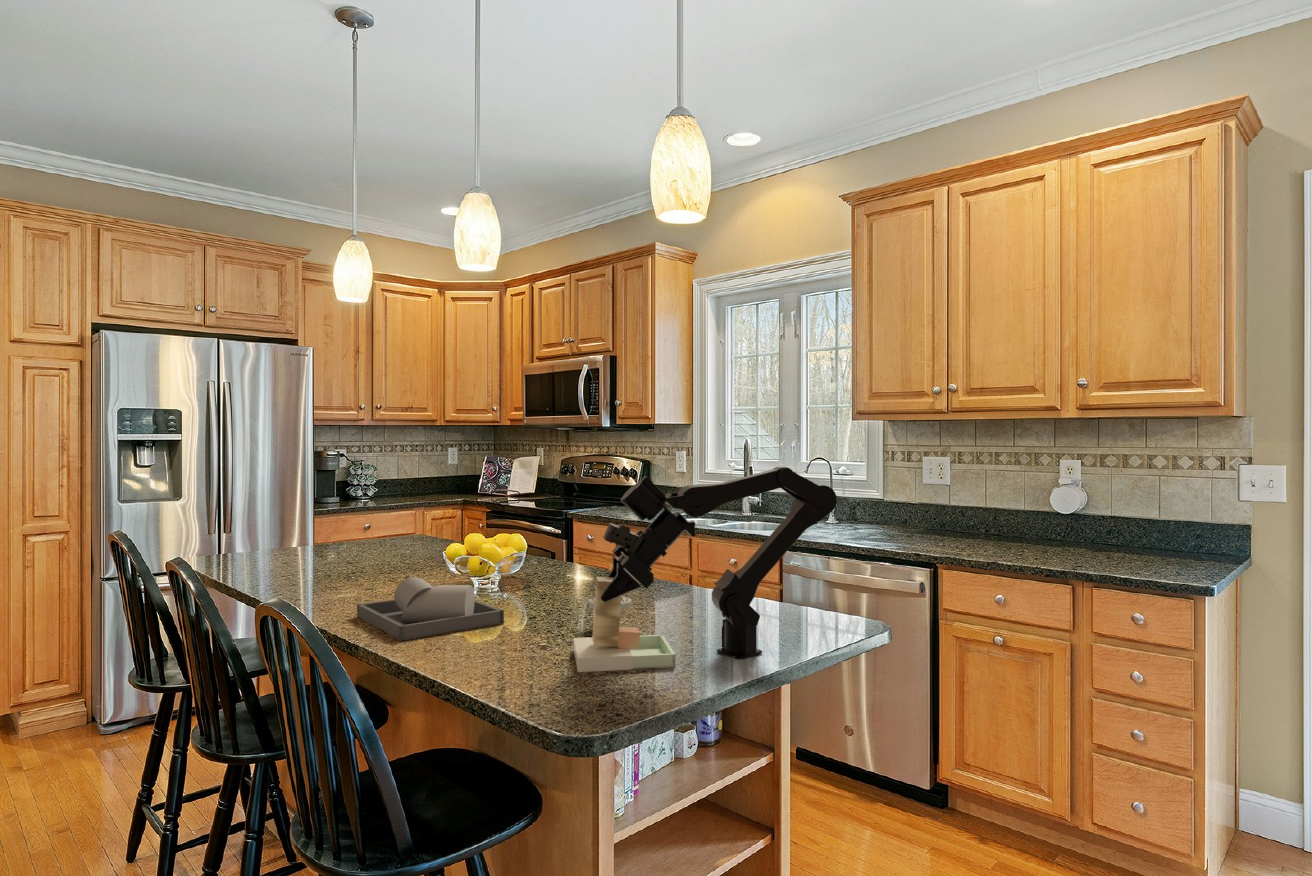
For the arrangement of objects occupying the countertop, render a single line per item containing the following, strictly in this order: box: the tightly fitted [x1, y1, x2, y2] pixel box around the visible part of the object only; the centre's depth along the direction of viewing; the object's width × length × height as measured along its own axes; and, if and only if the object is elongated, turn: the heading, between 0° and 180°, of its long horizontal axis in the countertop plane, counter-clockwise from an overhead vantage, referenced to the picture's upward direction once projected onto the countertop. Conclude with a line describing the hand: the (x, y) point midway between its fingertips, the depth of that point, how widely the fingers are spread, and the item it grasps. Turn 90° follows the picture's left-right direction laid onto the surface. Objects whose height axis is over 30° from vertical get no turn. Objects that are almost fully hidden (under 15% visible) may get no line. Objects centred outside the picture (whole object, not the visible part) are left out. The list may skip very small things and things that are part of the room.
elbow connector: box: [393, 576, 475, 623], centre depth 176 cm, size 18×10×20 cm
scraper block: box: [591, 576, 621, 646], centre depth 145 cm, size 4×4×12 cm
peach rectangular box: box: [617, 626, 641, 649], centre depth 146 cm, size 4×4×3 cm
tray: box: [629, 634, 677, 671], centre depth 147 cm, size 8×14×2 cm, turn 9°
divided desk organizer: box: [356, 599, 505, 642], centre depth 176 cm, size 27×24×3 cm
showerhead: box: [588, 594, 632, 621], centre depth 169 cm, size 9×7×10 cm
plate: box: [573, 636, 633, 673], centre depth 145 cm, size 10×14×2 cm
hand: (601, 597), depth 145 cm, fingers closed on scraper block, 4 cm apart
